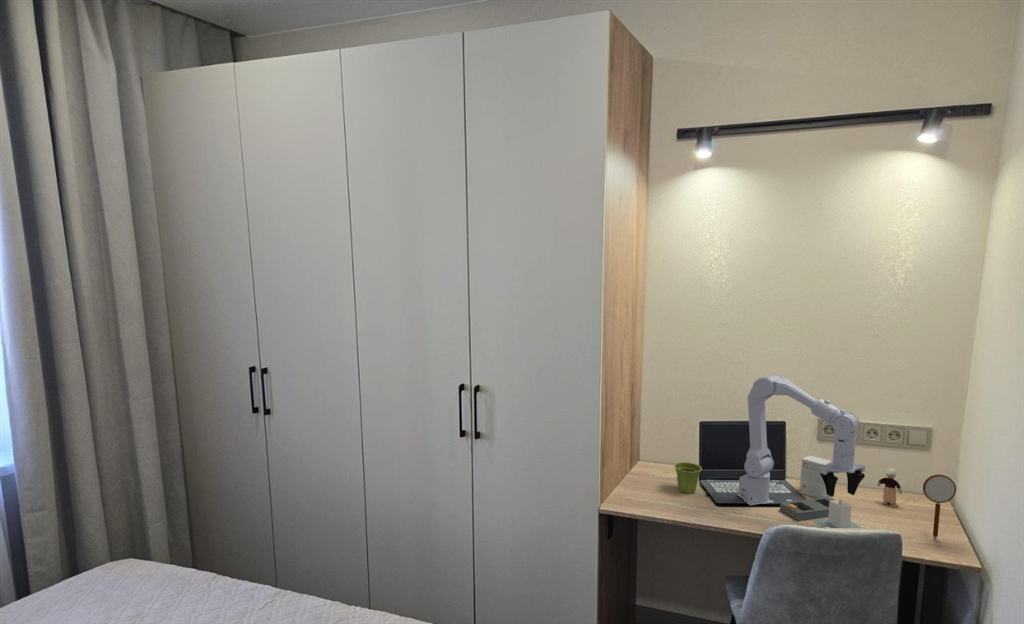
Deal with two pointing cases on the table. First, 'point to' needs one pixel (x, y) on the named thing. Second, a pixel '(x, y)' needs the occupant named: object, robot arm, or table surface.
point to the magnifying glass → (938, 494)
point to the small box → (813, 477)
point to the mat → (826, 524)
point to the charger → (839, 514)
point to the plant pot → (687, 476)
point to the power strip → (807, 508)
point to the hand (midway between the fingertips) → (840, 494)
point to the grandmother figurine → (890, 487)
